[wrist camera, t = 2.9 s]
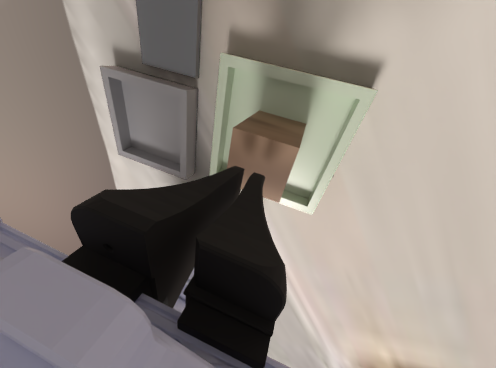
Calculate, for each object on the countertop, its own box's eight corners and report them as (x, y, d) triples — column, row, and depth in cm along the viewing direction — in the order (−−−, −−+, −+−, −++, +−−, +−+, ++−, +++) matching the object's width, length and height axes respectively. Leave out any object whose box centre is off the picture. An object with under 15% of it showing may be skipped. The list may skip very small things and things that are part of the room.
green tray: (312, 204, 21) (312, 215, 20) (216, 170, 23) (209, 177, 22) (371, 88, 15) (378, 90, 13) (230, 54, 17) (220, 52, 15)
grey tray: (194, 172, 25) (185, 179, 23) (131, 149, 26) (118, 154, 25) (198, 89, 19) (186, 90, 18) (117, 66, 21) (99, 65, 19)
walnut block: (290, 166, 20) (279, 202, 14) (249, 153, 20) (224, 182, 15) (306, 123, 17) (299, 148, 12) (259, 110, 18) (232, 127, 12)
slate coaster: (198, 77, 19) (195, 78, 18) (146, 63, 20) (142, 63, 19) (202, -6, 15) (198, -9, 15) (139, -19, 16) (133, -21, 16)
